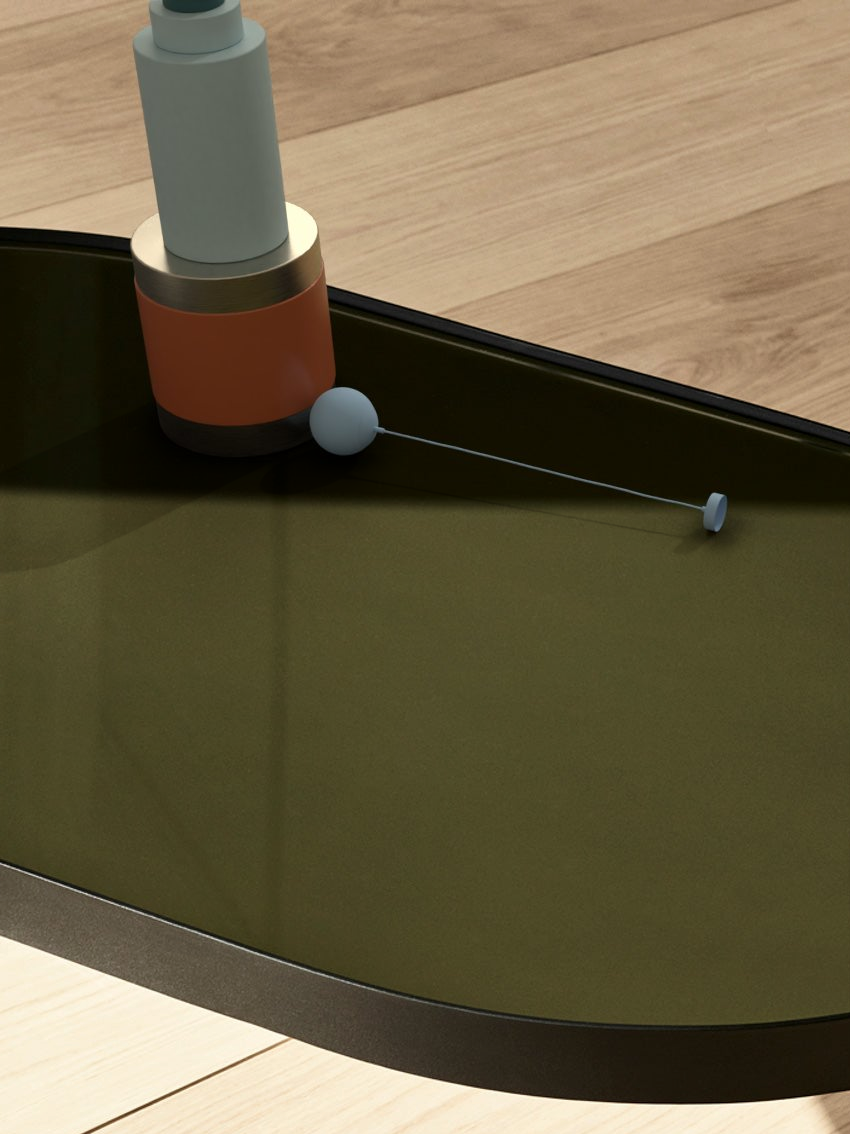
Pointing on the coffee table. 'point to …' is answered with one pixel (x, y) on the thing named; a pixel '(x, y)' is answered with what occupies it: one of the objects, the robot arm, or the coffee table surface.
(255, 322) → the tin
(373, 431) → the ball ended pin
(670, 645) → the coffee table surface
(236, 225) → the bottle
